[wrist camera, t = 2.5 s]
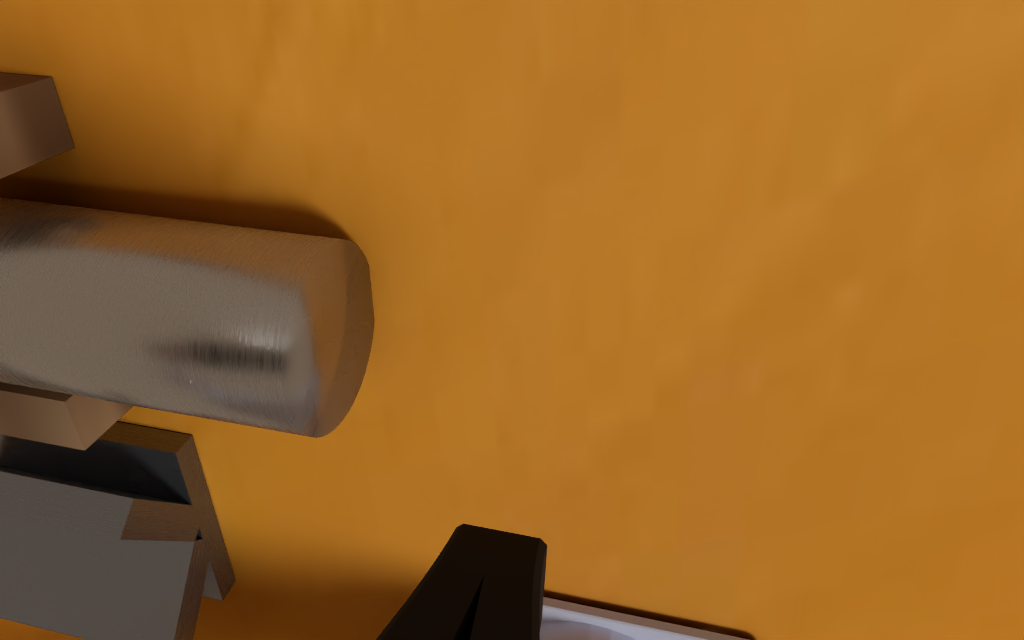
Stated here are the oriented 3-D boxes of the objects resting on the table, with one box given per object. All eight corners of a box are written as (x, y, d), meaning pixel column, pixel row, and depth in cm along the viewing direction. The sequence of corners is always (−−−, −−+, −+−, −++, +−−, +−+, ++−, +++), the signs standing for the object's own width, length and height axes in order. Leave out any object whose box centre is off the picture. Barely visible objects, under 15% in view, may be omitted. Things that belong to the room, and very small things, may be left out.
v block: (191, 435, 23) (112, 521, 20) (235, 581, 27) (174, 672, 24) (-9, 398, 25) (-114, 474, 22) (61, 542, 29) (-19, 624, 26)
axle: (361, 204, 17) (265, 315, 14) (382, 353, 20) (307, 479, 16) (-42, 158, 19) (-222, 244, 16) (29, 299, 22) (-109, 401, 18)
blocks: (51, 77, 17) (-56, 108, 15) (152, 388, 23) (85, 450, 20) (-81, 65, 18) (-205, 94, 16) (46, 370, 23) (-32, 428, 21)
